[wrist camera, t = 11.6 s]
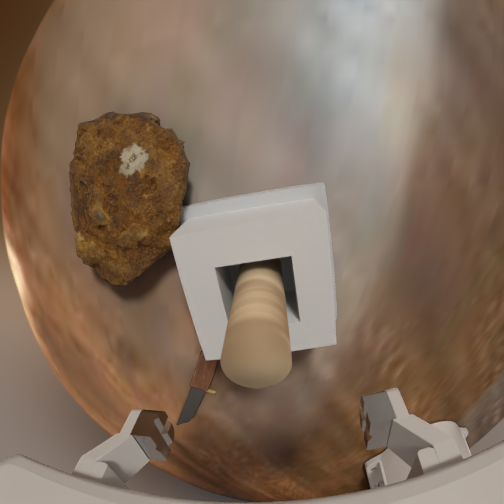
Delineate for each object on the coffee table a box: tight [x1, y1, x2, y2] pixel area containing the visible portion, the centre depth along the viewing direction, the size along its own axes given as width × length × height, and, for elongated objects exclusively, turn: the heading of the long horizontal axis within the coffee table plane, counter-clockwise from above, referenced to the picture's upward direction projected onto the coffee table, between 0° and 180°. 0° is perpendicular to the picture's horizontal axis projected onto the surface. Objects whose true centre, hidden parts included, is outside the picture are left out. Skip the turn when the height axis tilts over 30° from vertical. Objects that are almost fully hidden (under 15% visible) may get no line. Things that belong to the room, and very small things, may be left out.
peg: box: [220, 258, 292, 389], centre depth 20 cm, size 3×3×12 cm
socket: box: [169, 182, 337, 360], centre depth 23 cm, size 12×12×6 cm
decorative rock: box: [69, 112, 190, 285], centre depth 23 cm, size 11×4×15 cm
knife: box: [177, 350, 217, 425], centre depth 31 cm, size 17×1×3 cm
